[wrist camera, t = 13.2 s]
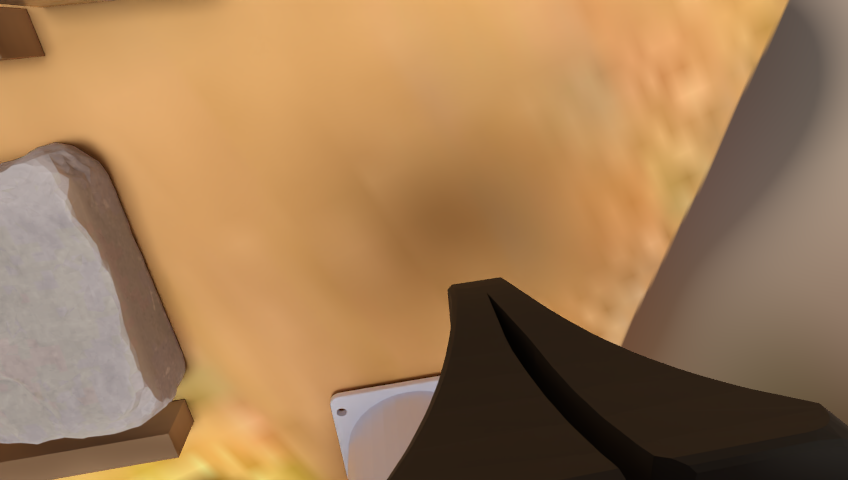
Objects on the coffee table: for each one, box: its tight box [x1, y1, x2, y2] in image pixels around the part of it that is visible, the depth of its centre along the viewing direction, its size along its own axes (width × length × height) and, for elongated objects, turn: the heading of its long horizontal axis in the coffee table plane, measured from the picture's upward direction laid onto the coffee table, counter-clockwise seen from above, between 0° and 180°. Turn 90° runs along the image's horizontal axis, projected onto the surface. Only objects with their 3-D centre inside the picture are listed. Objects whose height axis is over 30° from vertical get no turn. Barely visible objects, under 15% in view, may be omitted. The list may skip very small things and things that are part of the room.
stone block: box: [0, 142, 185, 444], centre depth 19 cm, size 12×5×10 cm
